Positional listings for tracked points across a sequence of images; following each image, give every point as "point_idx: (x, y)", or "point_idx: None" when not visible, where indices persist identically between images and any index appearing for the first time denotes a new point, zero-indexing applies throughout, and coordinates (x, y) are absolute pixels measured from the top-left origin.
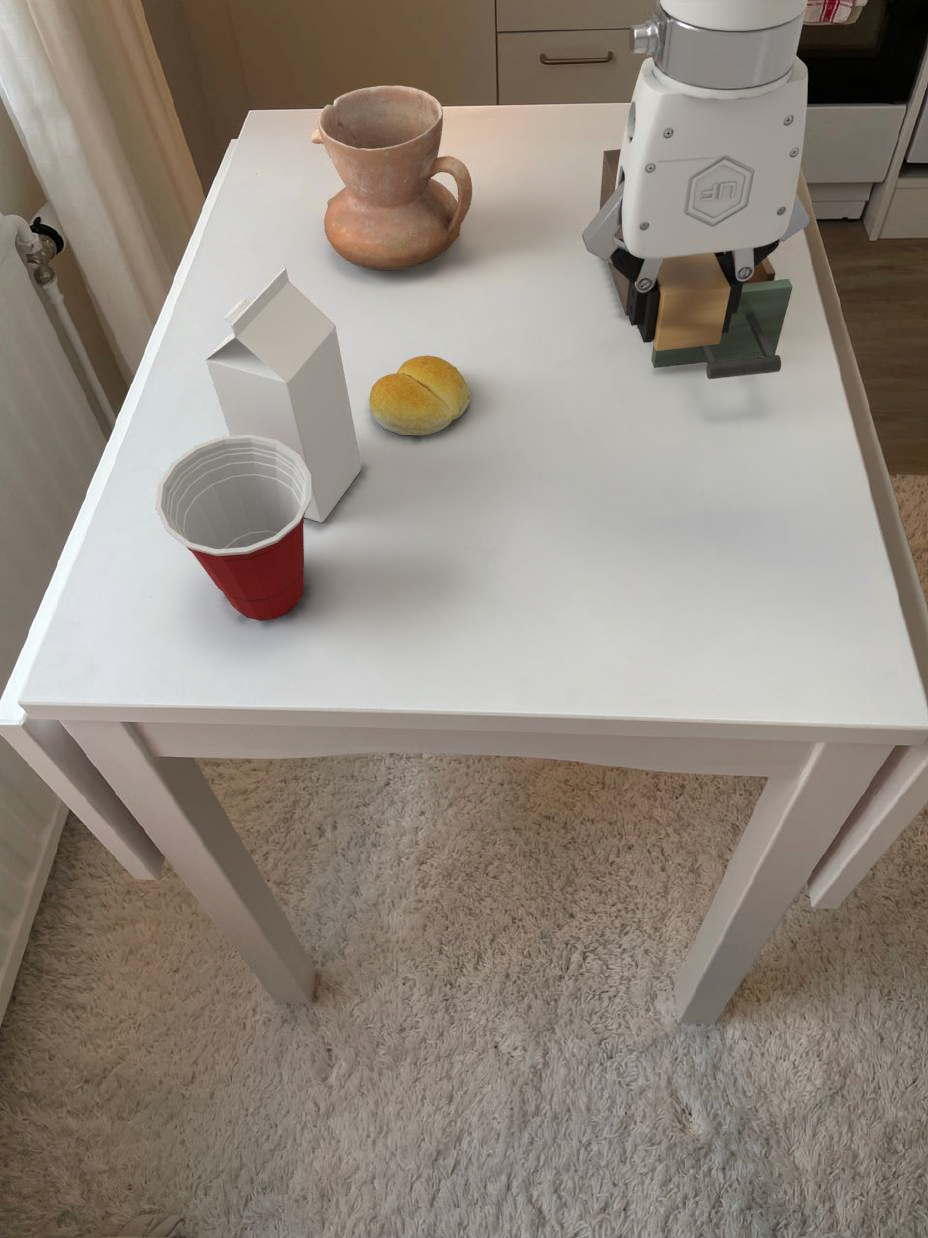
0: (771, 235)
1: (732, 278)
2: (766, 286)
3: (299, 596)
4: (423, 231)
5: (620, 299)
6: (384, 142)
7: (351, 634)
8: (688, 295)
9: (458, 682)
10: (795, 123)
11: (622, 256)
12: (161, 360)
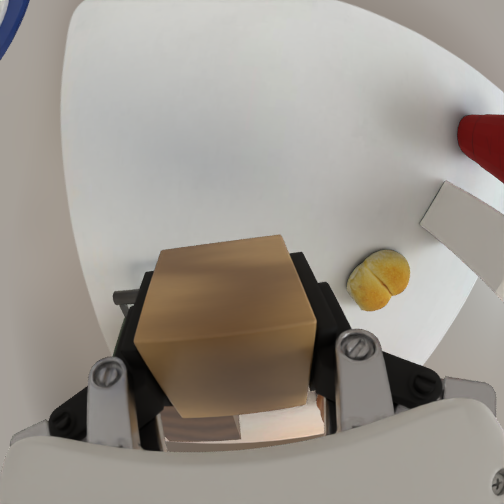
0: (22, 461)
1: (135, 365)
2: None
3: (462, 123)
4: None
5: None
6: None
7: (439, 89)
8: (245, 324)
9: (385, 32)
10: None
11: (430, 394)
12: (463, 300)
